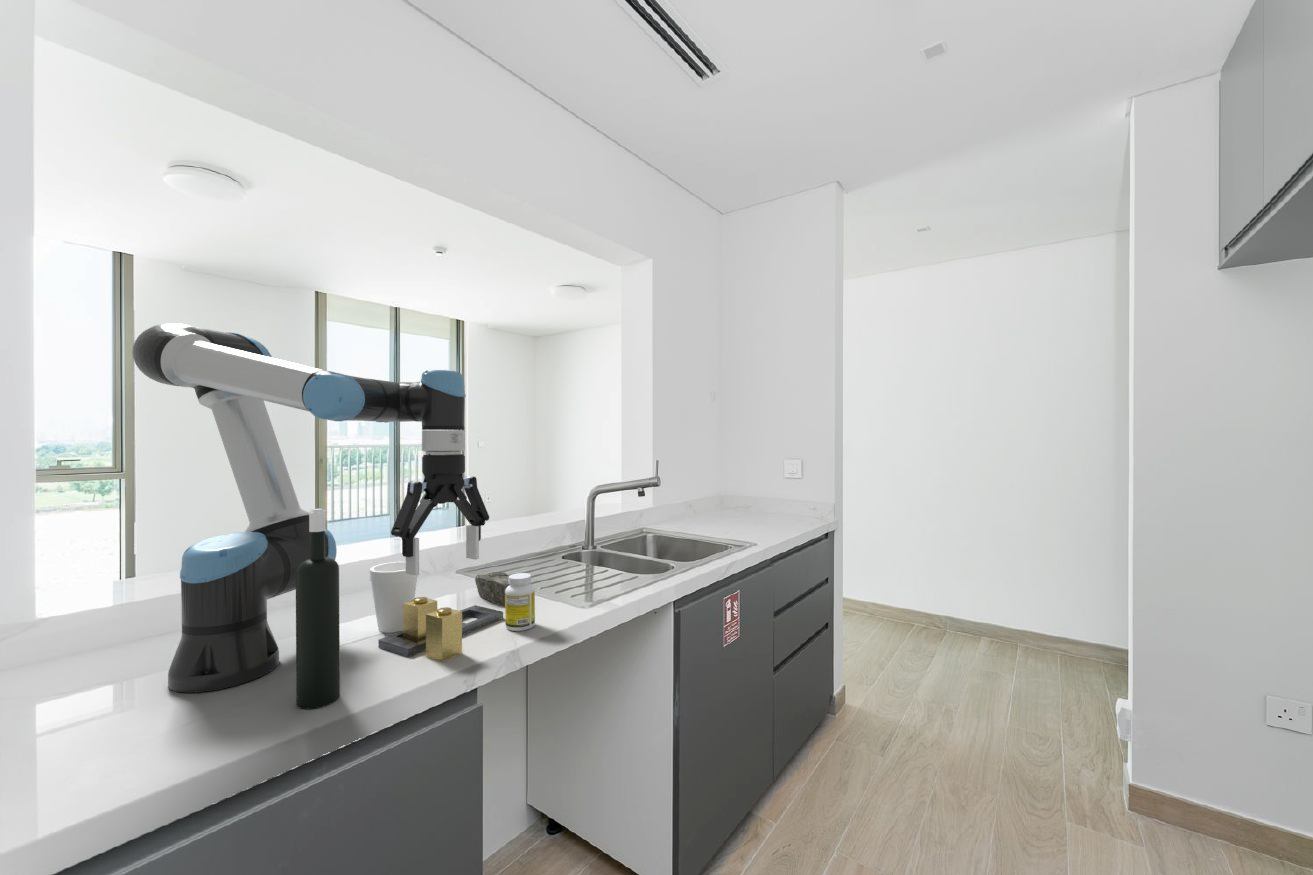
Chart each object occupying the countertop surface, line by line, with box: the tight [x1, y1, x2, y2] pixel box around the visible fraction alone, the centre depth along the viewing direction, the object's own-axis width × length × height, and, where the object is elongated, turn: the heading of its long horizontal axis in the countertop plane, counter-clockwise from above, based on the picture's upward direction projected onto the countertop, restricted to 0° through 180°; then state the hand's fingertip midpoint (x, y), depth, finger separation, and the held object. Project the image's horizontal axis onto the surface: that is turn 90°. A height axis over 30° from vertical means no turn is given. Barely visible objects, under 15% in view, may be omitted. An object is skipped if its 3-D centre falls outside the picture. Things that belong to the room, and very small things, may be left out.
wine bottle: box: [295, 507, 341, 710], centre depth 85 cm, size 6×6×30 cm
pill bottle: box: [504, 572, 536, 632], centre depth 117 cm, size 6×6×11 cm
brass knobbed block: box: [425, 607, 463, 663], centre depth 102 cm, size 4×4×9 cm
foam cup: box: [369, 560, 419, 634], centre depth 117 cm, size 10×9×13 cm
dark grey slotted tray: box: [377, 605, 504, 658], centre depth 114 cm, size 24×9×2 cm, turn 150°
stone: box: [474, 571, 510, 606], centre depth 136 cm, size 14×7×10 cm, turn 60°
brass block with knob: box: [402, 596, 438, 643], centre depth 109 cm, size 4×4×9 cm
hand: (444, 566), depth 102 cm, fingers open, 13 cm apart
